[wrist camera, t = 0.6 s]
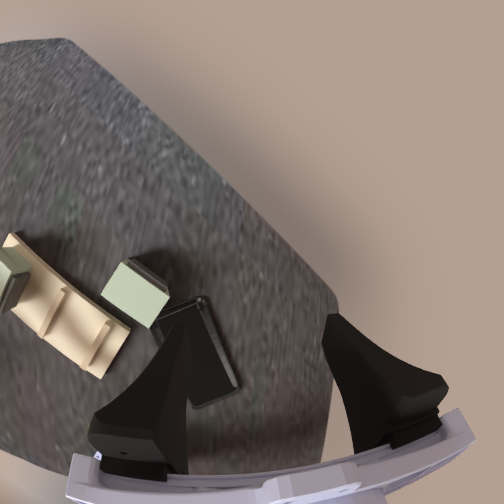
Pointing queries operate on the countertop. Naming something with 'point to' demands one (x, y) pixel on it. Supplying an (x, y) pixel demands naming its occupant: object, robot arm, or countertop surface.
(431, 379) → the robot arm
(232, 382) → the phone
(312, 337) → the countertop surface
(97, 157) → the countertop surface
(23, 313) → the block holder
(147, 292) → the block
